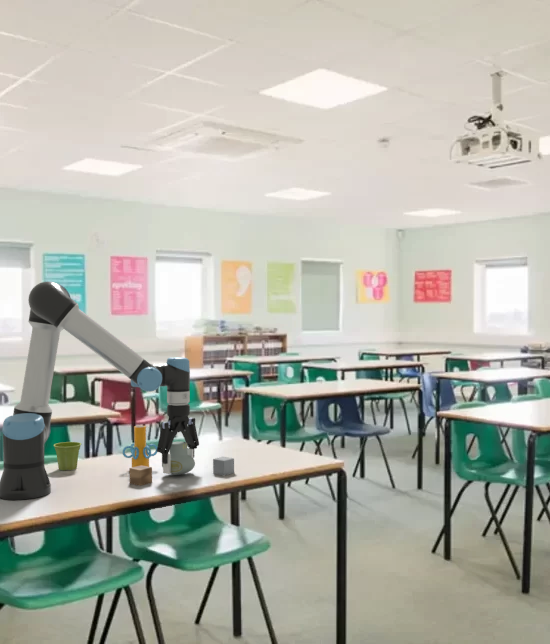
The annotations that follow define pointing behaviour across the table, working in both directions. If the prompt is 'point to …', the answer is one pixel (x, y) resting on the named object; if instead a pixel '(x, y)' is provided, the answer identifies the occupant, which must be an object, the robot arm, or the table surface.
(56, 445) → the plant pot
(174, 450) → the air freshener
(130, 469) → the walnut block
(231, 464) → the grey block
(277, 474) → the table surface
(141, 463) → the cylinder
